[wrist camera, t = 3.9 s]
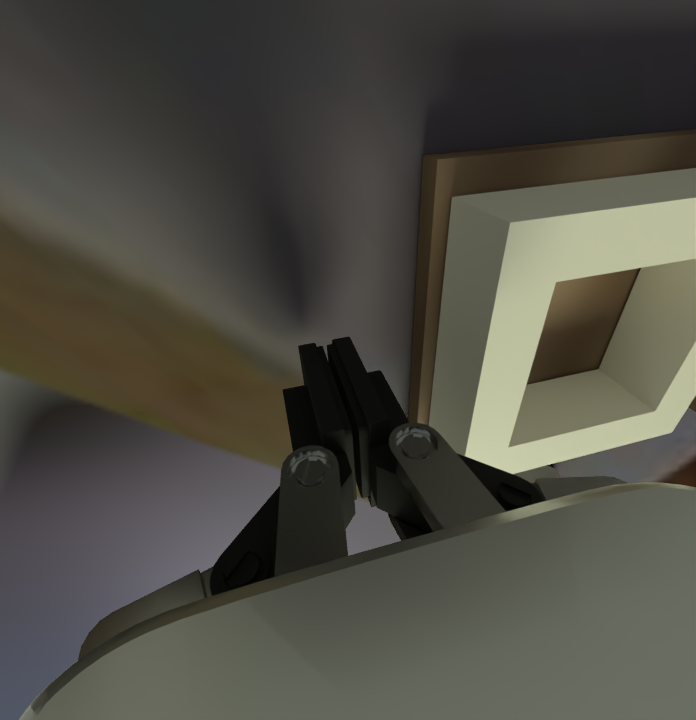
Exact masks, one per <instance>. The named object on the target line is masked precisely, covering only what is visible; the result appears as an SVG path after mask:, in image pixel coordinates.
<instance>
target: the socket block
mask: <svg viewBox="0 0 696 720" xmlns="http://www.w3.org/2000/svg"><path fill="white" fill-rule="evenodd" d="M637 268H641V269H640V272H639V274H638V276H637V279H636V281H635V284H634V286H633V288H632V291H631V293H630V296H629V298H628V300H627V303H626V305H625V307H624V310H623V312H622V315H621V317H620V319H619V322H618V324H617V326H616V329H615V331H614V334H613V336H612V338H611V341H610V343H609V345H608V348H607V350H606V353H605V355H604V357H603V360H602V362H601V364H600V367H599V369H597V370H592V371H588V372H583V373H579V374H574V375H569V376H565V377H560V378H556V379H551V380H547V381H542V382H537V383H533V384H528V385H526V384H527V381H528V377H529V374H530V371H531V367H532V364H533V360H534V357H535V353H536V350H537V346H538V343H539V339H540V336H541V332H542V329H543V326H544V322H545V319H546V315H547V312H548V308H549V305H550V301H551V298H552V294H553V291H554V288H555V284H556V282H560V281H566V280H572V279H578V278H584V277H590V276H595V275H601V274H607V273H613V272H619V271H625V270H631V269H637ZM695 396H696V168H690V169H682V170H673V171H665V172H657V173H648V174H640V175H631V176H623V177H614V178H606V179H598V180H589V181H581V182H572V183H564V184H556V185H547V186H539V187H530V188H522V189H513V190H505V191H497V192H488V193H480V194H471V195H463V196H455V197H452V201H451V211H450V221H449V231H448V240H447V250H446V260H445V270H444V280H443V290H442V299H441V309H440V319H439V329H438V339H437V349H436V358H435V368H434V378H433V388H432V398H431V407H430V417H429V426H430V427H432V428H434V429H435V430H436V431H437V432H438V433H440V435H441V436H442V437H443V438H444V439H445V440H446V442H447V443H448V444H449V445H450V446H451V447H452V449H453V450H454V451H455V452H456V453H458V454H460V455H463V456H466V457H468V458H471V459H474V460H476V461H479V462H482V463H484V464H487V465H490V466H492V467H495V468H498V469H500V470H503V471H506V472H508V473H511V474H515V473H519V472H523V471H527V470H531V469H534V468H538V467H542V466H546V465H550V464H554V463H557V462H561V461H565V460H569V459H573V458H576V457H580V456H584V455H588V454H592V453H596V452H599V451H603V450H607V449H611V448H615V447H618V446H622V445H626V444H630V443H634V442H638V441H641V440H645V439H649V438H653V437H657V436H660V435H664V434H668V433H672V432H673V430H674V428H675V427H676V425H677V424H678V422H679V421H680V419H681V418H682V416H683V414H684V413H685V411H686V410H687V408H688V407H689V405H690V403H691V402H692V400H693V399H694V397H695Z"/></svg>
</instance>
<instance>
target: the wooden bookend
mask: <svg viewBox="0 0 696 720" xmlns="http://www.w3.org/2000/svg"><path fill="white" fill-rule="evenodd" d="M690 168H696V129H689V130H679V131H668V132H658V133H648V134H637V135H627V136H617V137H607V138H596V139H586V140H576V141H565V142H555V143H545V144H535V145H524V146H514V147H504V148H493V149H483V150H473V151H463V152H452V153H442V154H432V155H423V165H422V182H421V200H420V218H419V236H418V253H417V271H416V289H415V307H414V324H413V342H412V360H411V378H410V395H409V413H408V421H409V423H421V424H426V425H428V426H429V417H430V407H431V398H432V388H433V378H434V368H435V358H436V349H437V339H438V329H439V319H440V309H441V299H442V290H443V280H444V270H445V260H446V250H447V240H448V231H449V221H450V211H451V201H452V197H455V196H463V195H471V194H480V193H488V192H497V191H505V190H513V189H522V188H530V187H539V186H547V185H556V184H564V183H572V182H581V181H589V180H598V179H606V178H614V177H623V176H631V175H640V174H648V173H657V172H665V171H673V170H682V169H690ZM640 269H641V268H637V269H631V270H625V271H619V272H613V273H607V274H601V275H595V276H590V277H584V278H578V279H572V280H566V281H560V282H556V284H555V288H554V291H553V294H552V298H551V301H550V305H549V308H548V312H547V315H546V319H545V322H544V326H543V329H542V332H541V336H540V339H539V343H538V346H537V350H536V353H535V357H534V360H533V364H532V367H531V371H530V374H529V377H528V381H527V384H526V385H528V384H533V383H537V382H542V381H547V380H551V379H556V378H560V377H565V376H569V375H574V374H579V373H583V372H588V371H592V370H597V369H599V367H600V364H601V362H602V360H603V357H604V355H605V353H606V350H607V348H608V345H609V343H610V341H611V338H612V336H613V334H614V331H615V329H616V326H617V324H618V322H619V319H620V317H621V315H622V312H623V310H624V307H625V305H626V303H627V300H628V298H629V296H630V293H631V291H632V288H633V286H634V284H635V281H636V279H637V276H638V274H639V272H640ZM689 408H691V409H692V410H694V411H695V412H696V396H695V397H694V399H693V400H692V402H691V403H690V405H689Z"/></svg>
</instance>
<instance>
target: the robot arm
mask: <svg viewBox="0 0 696 720" xmlns="http://www.w3.org/2000/svg"><path fill="white" fill-rule="evenodd" d="M298 347H299V354H300V360H301V367H302V373H303V379H304V385H303V386H298V387H293V388H288V389H283V395H284V401H285V407H286V412H287V418H288V424H289V430H290V436H291V442H292V448H293V452H292V453H291V454H290V455H288V456H287V458H286V459H285V461H284V462H283V465H282V469H281V479H280V486H279V487H278V489H277V490H276V491H275V492H274V493H273V495H272V496H271V497H270V498H269V499H268V500H267V502H266V503H265V504H264V505H263V506H262V508H261V509H260V510H259V511H258V512H257V514H256V515H255V516H254V517H253V518H252V519H251V520H250V522H249V523H248V524H247V525H246V526H245V527H244V529H243V530H242V531H241V532H240V533H239V535H238V536H237V537H236V538H235V539H234V541H233V542H232V543H231V544H230V545H229V546H228V548H227V549H226V550H225V551H224V552H223V554H222V555H221V556H220V557H219V559H218V560H217V562H216V563H215V565H214V566H213V567H211V568H209V569H208V570H206V571H204V572H202V573H200V571H199V570H197V571H194V572H192V573H190V574H189V575H187V576H184V577H182V578H180V579H178V580H176V581H174V582H172V583H170V584H168V585H166V586H164V587H162V588H160V589H158V590H156V591H154V592H152V593H150V594H148V595H146V596H144V597H142V598H140V599H138V600H136V601H134V602H132V603H130V604H129V605H126V606H124V607H122V608H120V609H118V610H116V611H114V612H112V613H111V614H109V615H108V616H106V617H105V618H103V619H102V620H100V621H99V622H98V624H97V625H96V626H95V627H94V628H93V629H92V630H91V631H90V632H89V634H88V636H87V637H86V639H85V641H84V643H83V644H82V646H81V650H80V654H79V658H78V661H77V662H76V663H74V664H73V665H71V666H70V667H69V668H68V669H67V670H65V671H64V672H63V673H62V674H61V675H60V676H58V677H57V678H56V679H55V680H54V681H53V682H51V683H50V684H49V685H48V686H47V687H46V688H45V689H44V690H43V691H42V692H41V693H40V694H39V695H38V696H37V697H36V698H35V700H34V701H33V702H32V703H31V704H30V706H29V707H28V708H27V709H26V711H25V712H24V714H23V715H22V716H21V718H20V719H19V720H696V487H691V486H685V485H678V484H668V483H627V482H625V481H623V480H620V479H617V478H614V477H607V476H595V477H567V478H539V479H536V480H535V483H530V482H529V481H527V480H525V479H523V478H521V477H519V476H516V475H514V474H511V473H508V472H506V471H503V470H500V469H498V468H495V467H492V466H490V465H487V464H484V463H482V462H479V461H476V460H474V459H471V458H468V457H466V456H463V455H460V454H458V453H456V452H455V451H454V450H453V449H452V447H451V446H450V445H449V444H448V443H447V442H446V440H445V439H444V438H443V437H442V436H441V435H440V433H438V432H437V431H436V430H435V429H434V428H432V427H430V426H428V425H426V424H421V423H409V421H408V419H407V418H406V416H405V414H404V412H403V410H402V408H401V407H400V405H399V403H398V401H397V399H396V397H395V396H394V394H393V392H392V390H391V388H390V386H389V384H388V383H387V381H386V379H385V377H384V375H383V374H382V372H381V371H374V372H369V373H367V371H366V369H365V367H364V365H363V363H362V361H361V359H360V357H359V355H358V353H357V351H356V349H355V347H354V345H353V343H352V341H351V339H350V337H344V338H339V339H333V340H332V344H330V345H327V352H328V360H327V357H326V354H325V352H324V349H323V346H319V347H316V344H315V343H311V344H305V345H300V346H298ZM328 362H329V363H328ZM355 479H356V481H355ZM356 483H357V486H358V489H359V492H360V495H361V497H362V498H364V497H368V499H369V502H370V505H371V507H374V506H377V508H379V509H381V510H383V511H385V512H387V513H388V516H389V519H390V521H391V524H392V525H393V527H394V529H395V531H396V533H397V535H398V536H399V538H400V540H401V541H399V542H396V543H392V544H389V545H385V546H382V547H378V548H375V549H371V550H368V551H364V552H361V553H357V554H354V555H350V556H348V550H347V540H346V530H345V529H346V527H347V526H348V524H349V523H350V521H351V520H352V517H353V516H354V515H355V503H354V500H356V499H357V495H356Z"/></svg>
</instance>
